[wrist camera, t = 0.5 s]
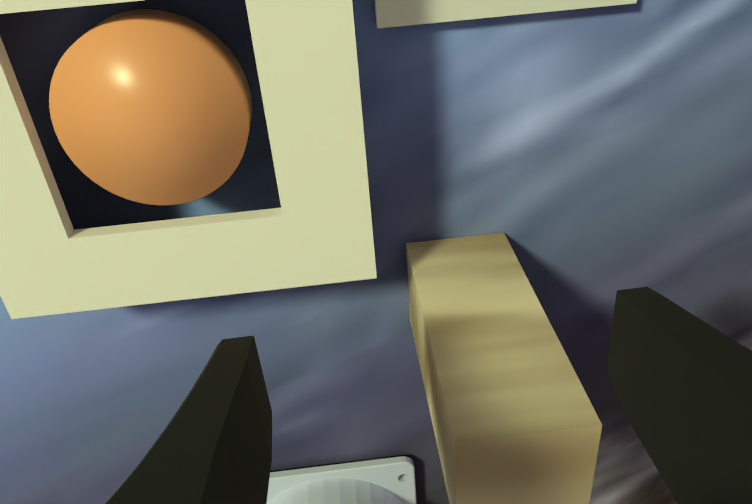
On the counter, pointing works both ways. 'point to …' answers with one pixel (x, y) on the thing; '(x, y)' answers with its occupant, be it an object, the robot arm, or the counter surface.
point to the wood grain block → (497, 378)
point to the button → (152, 107)
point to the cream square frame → (212, 232)
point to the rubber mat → (471, 9)
